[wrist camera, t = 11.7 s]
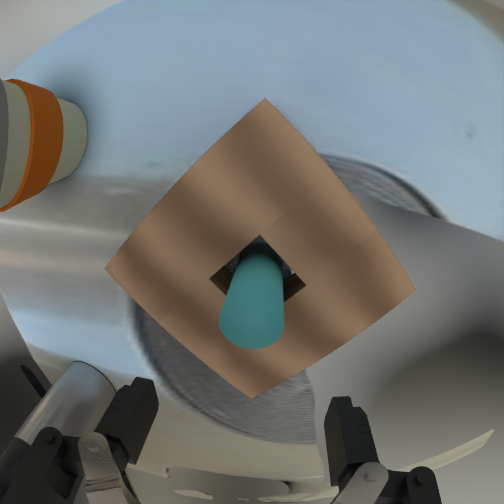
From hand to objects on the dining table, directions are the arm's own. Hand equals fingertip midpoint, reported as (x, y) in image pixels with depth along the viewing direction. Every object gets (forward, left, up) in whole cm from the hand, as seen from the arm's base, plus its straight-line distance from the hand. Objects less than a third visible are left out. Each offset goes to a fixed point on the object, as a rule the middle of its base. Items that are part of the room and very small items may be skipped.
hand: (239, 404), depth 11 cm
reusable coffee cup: (-7, +25, -17) cm, 31 cm away
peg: (0, 0, -16) cm, 16 cm away
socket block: (0, 0, -16) cm, 16 cm away
